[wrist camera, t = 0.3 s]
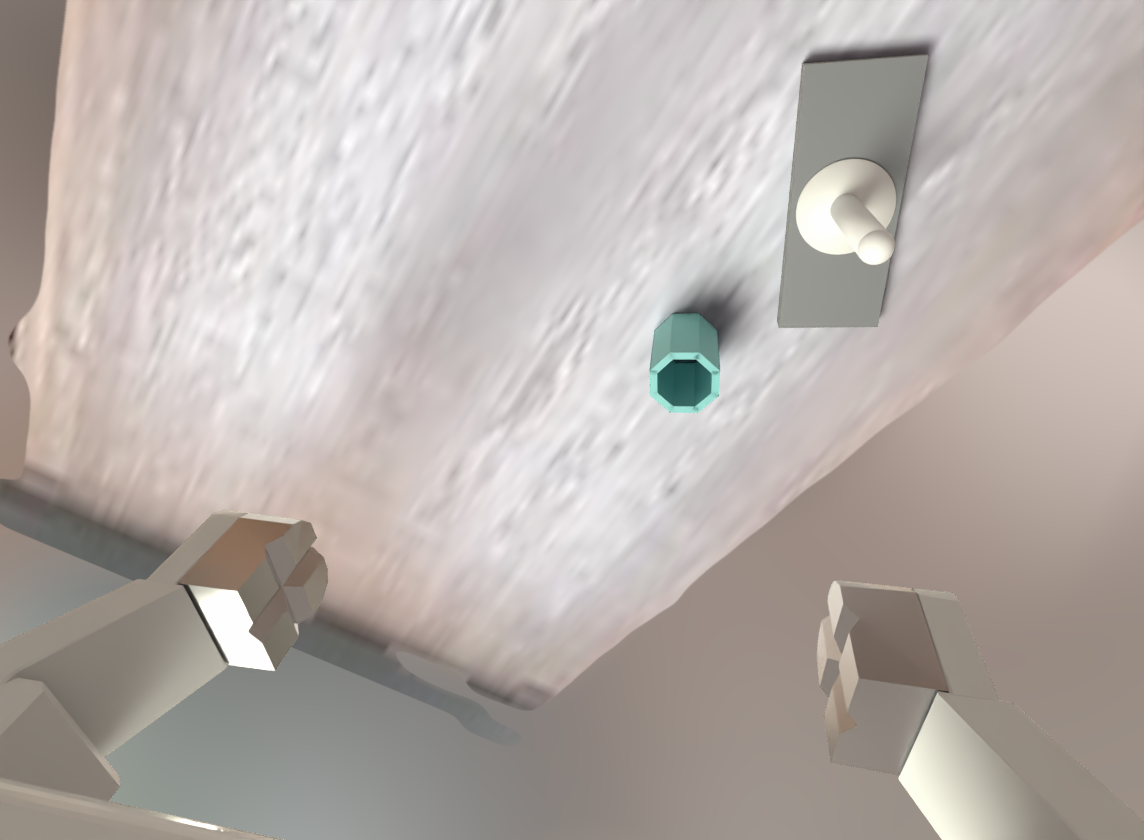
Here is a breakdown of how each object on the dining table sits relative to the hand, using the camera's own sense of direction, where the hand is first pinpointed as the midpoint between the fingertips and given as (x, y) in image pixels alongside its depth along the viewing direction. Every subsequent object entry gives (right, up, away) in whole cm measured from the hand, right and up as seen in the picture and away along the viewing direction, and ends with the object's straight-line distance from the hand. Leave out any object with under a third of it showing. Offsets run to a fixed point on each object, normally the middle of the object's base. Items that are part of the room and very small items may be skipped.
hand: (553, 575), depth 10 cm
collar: (+11, +10, +49) cm, 51 cm away
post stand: (+22, +20, +40) cm, 50 cm away
